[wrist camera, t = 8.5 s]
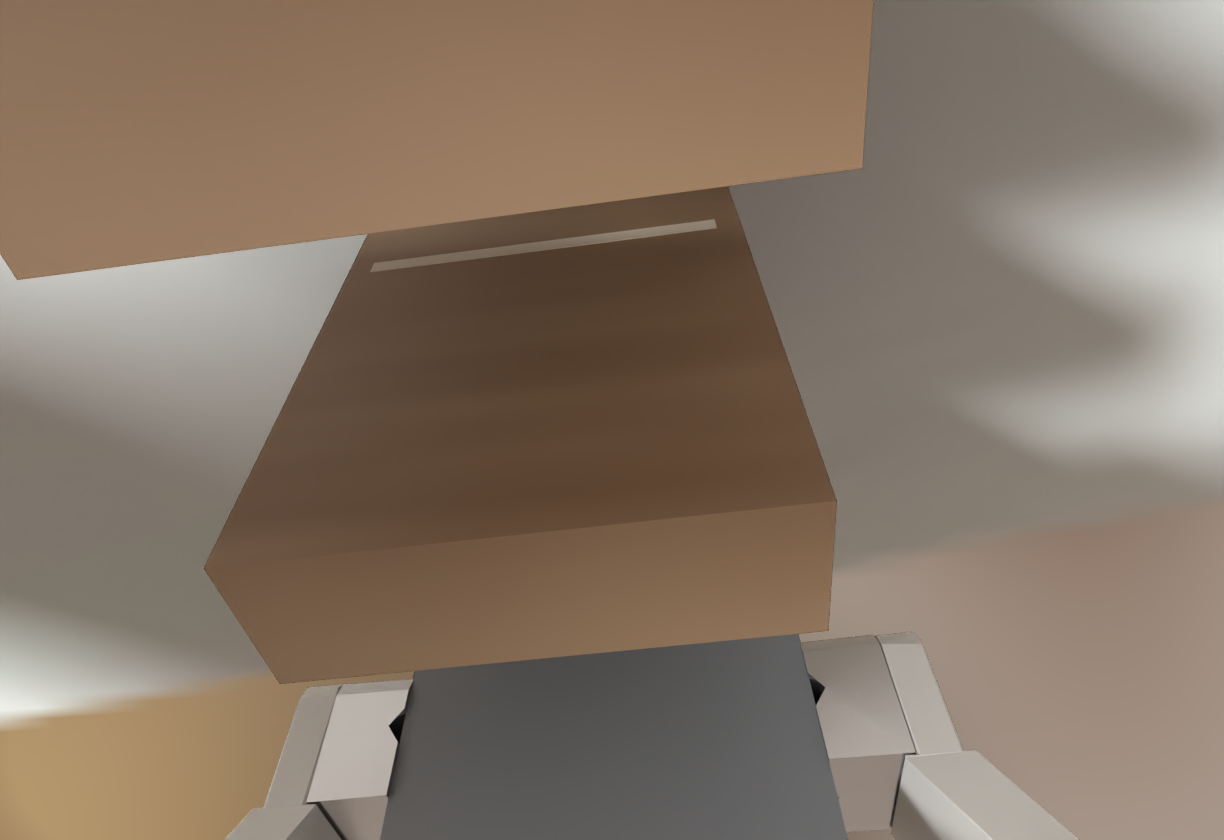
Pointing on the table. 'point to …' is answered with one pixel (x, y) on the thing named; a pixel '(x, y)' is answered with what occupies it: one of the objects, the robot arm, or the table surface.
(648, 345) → the domino
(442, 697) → the end domino
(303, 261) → the table surface
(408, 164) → the domino
